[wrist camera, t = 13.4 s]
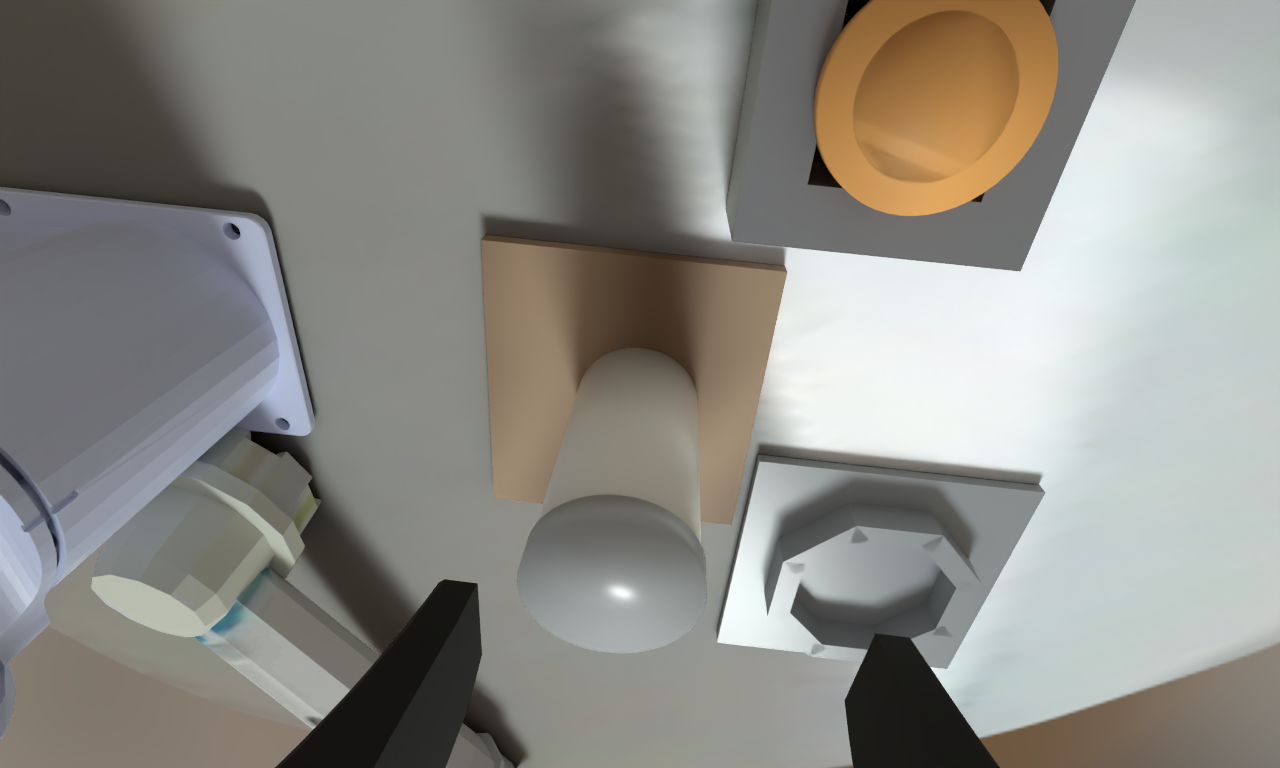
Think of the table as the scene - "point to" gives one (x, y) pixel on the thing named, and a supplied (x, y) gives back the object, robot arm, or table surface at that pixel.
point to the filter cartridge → (622, 512)
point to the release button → (933, 99)
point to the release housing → (837, 222)
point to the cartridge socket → (867, 557)
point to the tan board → (616, 319)
